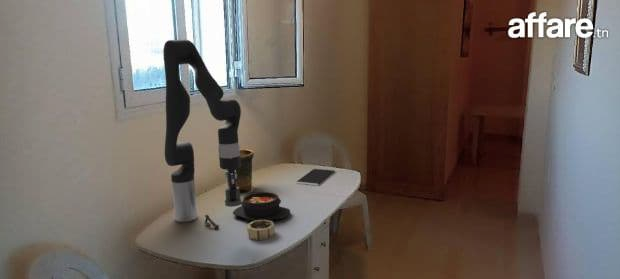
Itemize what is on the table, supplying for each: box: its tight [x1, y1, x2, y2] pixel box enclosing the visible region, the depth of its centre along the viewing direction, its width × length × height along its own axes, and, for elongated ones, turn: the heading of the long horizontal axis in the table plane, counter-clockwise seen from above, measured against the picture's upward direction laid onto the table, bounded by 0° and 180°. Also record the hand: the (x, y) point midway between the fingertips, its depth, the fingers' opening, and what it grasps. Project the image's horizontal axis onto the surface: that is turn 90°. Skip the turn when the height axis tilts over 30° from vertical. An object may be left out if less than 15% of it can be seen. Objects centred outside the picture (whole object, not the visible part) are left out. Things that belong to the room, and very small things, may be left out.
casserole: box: [232, 191, 291, 221], centre depth 186 cm, size 25×19×8 cm
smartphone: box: [295, 168, 336, 187], centre depth 240 cm, size 13×27×2 cm, turn 158°
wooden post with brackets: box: [204, 214, 220, 230], centre depth 177 cm, size 2×8×4 cm, turn 49°
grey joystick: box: [224, 187, 242, 207], centre depth 162 cm, size 6×6×6 cm
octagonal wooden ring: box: [246, 219, 276, 241], centre depth 168 cm, size 10×10×4 cm
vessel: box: [234, 148, 255, 196], centre depth 220 cm, size 14×14×20 cm
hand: (232, 199), depth 162 cm, fingers closed on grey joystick
